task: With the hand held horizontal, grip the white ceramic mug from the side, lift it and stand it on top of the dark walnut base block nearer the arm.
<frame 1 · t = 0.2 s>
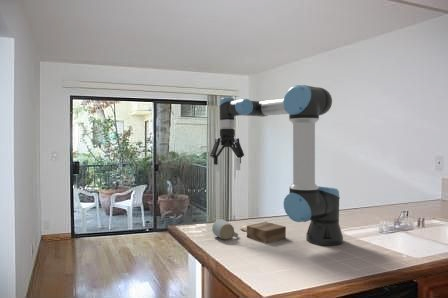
hand: (227, 170, 183), 27 cm above the counter, tool pointing down, fingers open, 13 cm apart
ceramic mug: (226, 238, 159), on the counter
walnut base block: (266, 237, 159), on the counter
cork coaster: (249, 229, 174), on the counter
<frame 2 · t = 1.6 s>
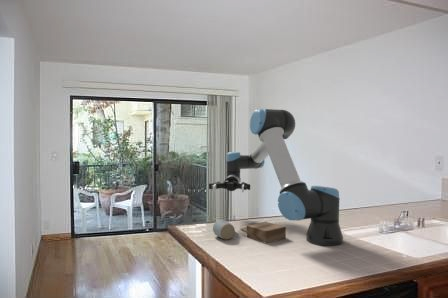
hand: (227, 189, 168), 20 cm above the counter, tool horizontal, fingers open, 13 cm apart
nothing on the counter moved.
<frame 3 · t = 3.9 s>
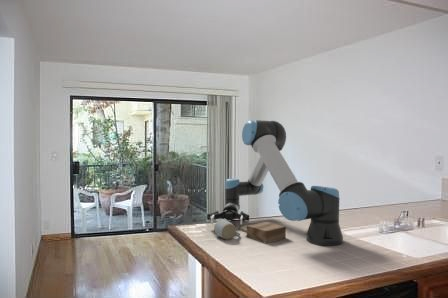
hand: (226, 221, 165), 6 cm above the counter, tool horizontal, fingers open, 13 cm apart
nothing on the counter moved.
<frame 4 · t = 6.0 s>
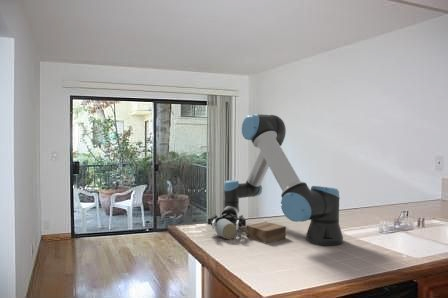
hand: (224, 226, 155), 6 cm above the counter, tool horizontal, fingers closed on ceramic mug, 10 cm apart
ceramic mug: (228, 237, 160), on the counter, touching gripper
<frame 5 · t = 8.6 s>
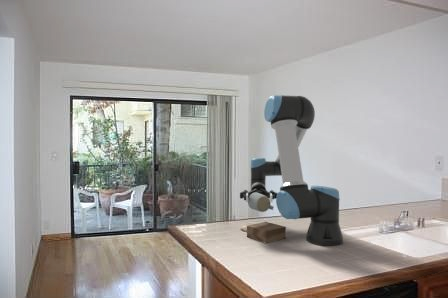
hand: (259, 198, 155), 18 cm above the counter, tool horizontal, fingers closed on ceramic mug, 10 cm apart
ceramic mug: (261, 210, 160), point 12 cm above the counter, touching gripper
when the fingers open (13 cm above the counter, at t = 11.3 s): ceramic mug drops 2 cm, resting on walnut base block.
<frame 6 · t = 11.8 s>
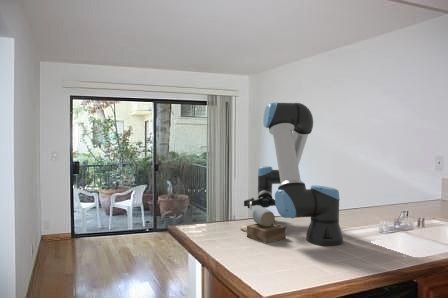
hand: (265, 207, 162), 13 cm above the counter, tool horizontal, fingers open, 13 cm apart
ceramic mug: (266, 225, 161), point 5 cm above the counter, touching walnut base block
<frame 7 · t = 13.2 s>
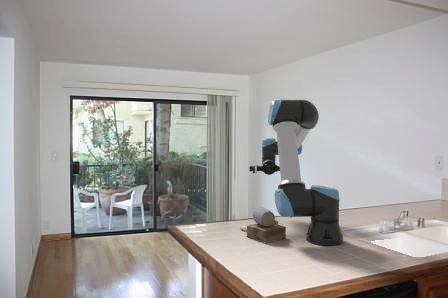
hand: (270, 170, 172), 28 cm above the counter, tool horizontal, fingers open, 13 cm apart
nothing on the counter moved.
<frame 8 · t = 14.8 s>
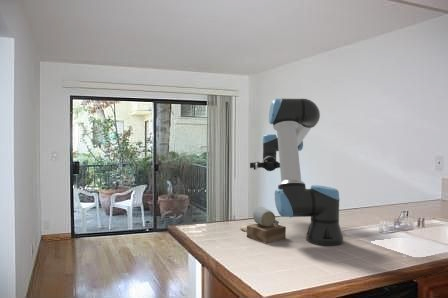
hand: (270, 166, 172), 30 cm above the counter, tool horizontal, fingers open, 13 cm apart
nothing on the counter moved.
at the end: ceramic mug inside the target area on the walnut base block (2.0 cm from its centre), point 4.8 cm above the walnut base block's base; ceramic mug tilted 2°; ceramic mug touching walnut base block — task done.
